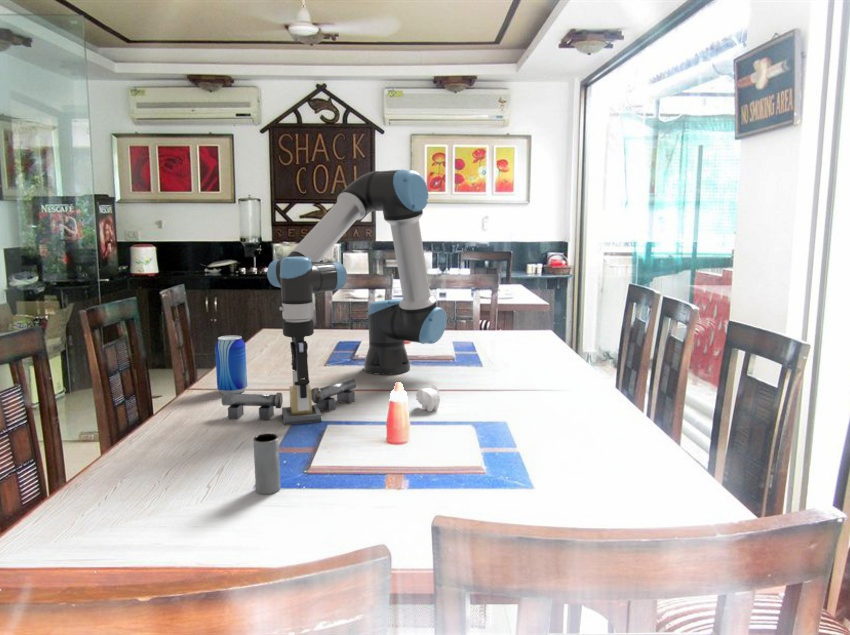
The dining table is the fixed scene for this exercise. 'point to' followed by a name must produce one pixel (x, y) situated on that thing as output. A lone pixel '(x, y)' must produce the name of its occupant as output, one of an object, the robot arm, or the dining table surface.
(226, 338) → the beer can
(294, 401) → the block
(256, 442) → the grey hollow tube
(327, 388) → the shaft
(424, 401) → the elephant figurine
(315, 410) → the grey square tray
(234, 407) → the shaft
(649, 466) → the dining table surface
